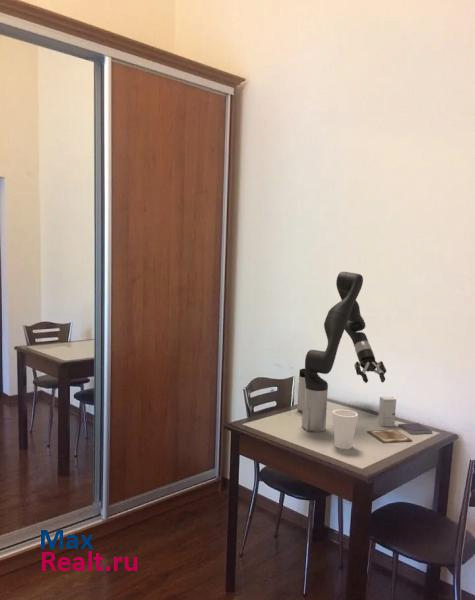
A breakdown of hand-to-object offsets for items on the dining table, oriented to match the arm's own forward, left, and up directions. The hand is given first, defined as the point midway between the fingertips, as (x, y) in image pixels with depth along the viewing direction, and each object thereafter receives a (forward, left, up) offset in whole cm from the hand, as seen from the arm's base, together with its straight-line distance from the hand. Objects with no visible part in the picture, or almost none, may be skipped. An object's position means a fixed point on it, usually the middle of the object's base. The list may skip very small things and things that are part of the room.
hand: (375, 381), depth 235 cm
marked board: (-7, -26, -16) cm, 31 cm away
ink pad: (+9, -20, -16) cm, 27 cm away
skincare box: (0, -12, -17) cm, 20 cm away
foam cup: (-31, -33, -17) cm, 48 cm away
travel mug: (-29, +12, -17) cm, 36 cm away
